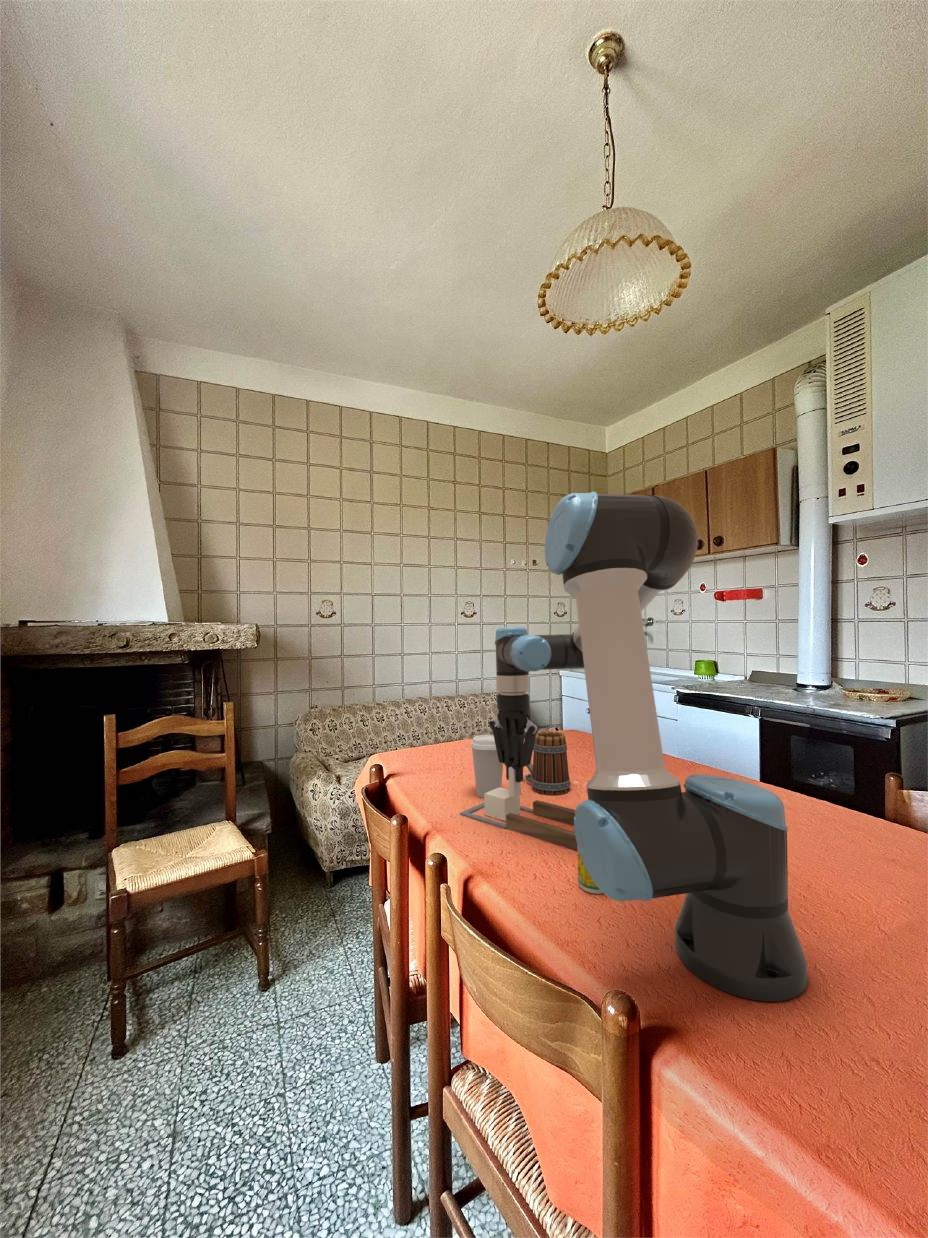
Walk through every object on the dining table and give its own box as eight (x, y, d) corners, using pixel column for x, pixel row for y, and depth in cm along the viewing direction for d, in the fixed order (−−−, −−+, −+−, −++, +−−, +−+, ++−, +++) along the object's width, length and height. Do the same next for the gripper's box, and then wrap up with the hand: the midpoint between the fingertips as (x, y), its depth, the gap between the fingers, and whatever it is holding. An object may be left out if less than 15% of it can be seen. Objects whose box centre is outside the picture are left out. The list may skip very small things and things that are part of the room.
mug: (577, 788, 135) (576, 733, 135) (556, 798, 127) (555, 740, 127) (530, 777, 145) (529, 726, 146) (508, 786, 138) (507, 732, 138)
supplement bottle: (608, 897, 80) (607, 838, 81) (575, 891, 82) (574, 833, 83) (612, 881, 85) (611, 826, 86) (581, 876, 87) (580, 821, 88)
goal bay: (505, 829, 108) (505, 827, 108) (459, 814, 117) (459, 813, 117) (537, 812, 118) (537, 810, 118) (493, 799, 127) (493, 798, 127)
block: (504, 821, 113) (504, 799, 113) (484, 814, 117) (484, 793, 117) (520, 813, 117) (519, 792, 117) (500, 807, 121) (499, 787, 121)
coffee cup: (463, 796, 130) (462, 739, 130) (483, 786, 138) (482, 732, 138) (494, 803, 124) (493, 743, 125) (513, 792, 132) (512, 736, 133)
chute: (599, 858, 94) (598, 842, 94) (506, 828, 109) (506, 815, 109) (625, 837, 103) (625, 822, 103) (536, 812, 118) (536, 800, 118)
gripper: (545, 693, 114) (548, 796, 113) (500, 689, 122) (502, 786, 121) (526, 696, 108) (529, 805, 107) (481, 692, 117) (483, 793, 116)
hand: (515, 795), depth 114 cm, fingers closed
